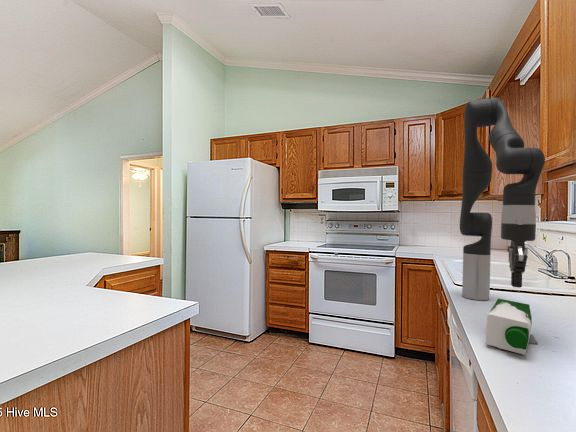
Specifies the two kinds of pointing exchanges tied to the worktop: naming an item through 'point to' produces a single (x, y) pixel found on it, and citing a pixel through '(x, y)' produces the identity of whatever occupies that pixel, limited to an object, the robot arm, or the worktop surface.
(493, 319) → the soya milk
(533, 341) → the rubber pad
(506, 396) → the worktop surface
